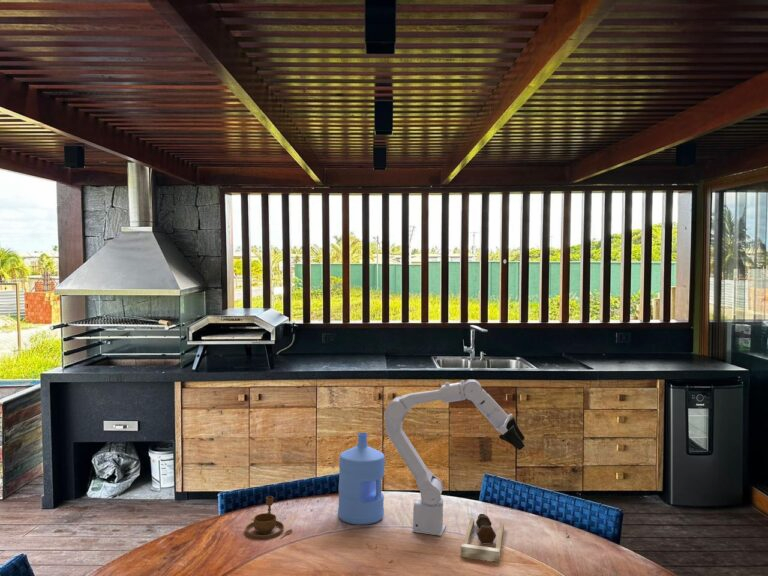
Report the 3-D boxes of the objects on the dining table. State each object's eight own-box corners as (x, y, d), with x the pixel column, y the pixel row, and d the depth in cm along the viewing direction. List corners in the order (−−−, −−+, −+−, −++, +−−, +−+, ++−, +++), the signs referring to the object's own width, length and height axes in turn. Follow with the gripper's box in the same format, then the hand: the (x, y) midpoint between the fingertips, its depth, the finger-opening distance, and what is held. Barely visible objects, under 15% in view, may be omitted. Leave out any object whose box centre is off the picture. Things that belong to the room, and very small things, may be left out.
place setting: (229, 534, 170) (229, 515, 170) (266, 512, 188) (267, 495, 188) (276, 545, 163) (277, 526, 163) (310, 521, 181) (311, 503, 181)
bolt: (484, 529, 181) (489, 548, 166) (471, 521, 181) (474, 539, 166) (493, 514, 181) (498, 532, 166) (480, 506, 181) (484, 523, 166)
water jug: (329, 520, 181) (331, 436, 181) (350, 504, 195) (352, 426, 196) (372, 529, 175) (374, 442, 175) (390, 512, 189) (392, 431, 190)
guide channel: (460, 556, 157) (460, 546, 157) (470, 524, 180) (470, 515, 180) (498, 562, 154) (498, 551, 154) (503, 528, 177) (503, 519, 177)
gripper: (500, 408, 164) (532, 443, 162) (502, 397, 178) (531, 429, 176) (483, 423, 166) (514, 457, 164) (486, 411, 180) (515, 443, 178)
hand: (522, 444), depth 170 cm, fingers open, 7 cm apart
